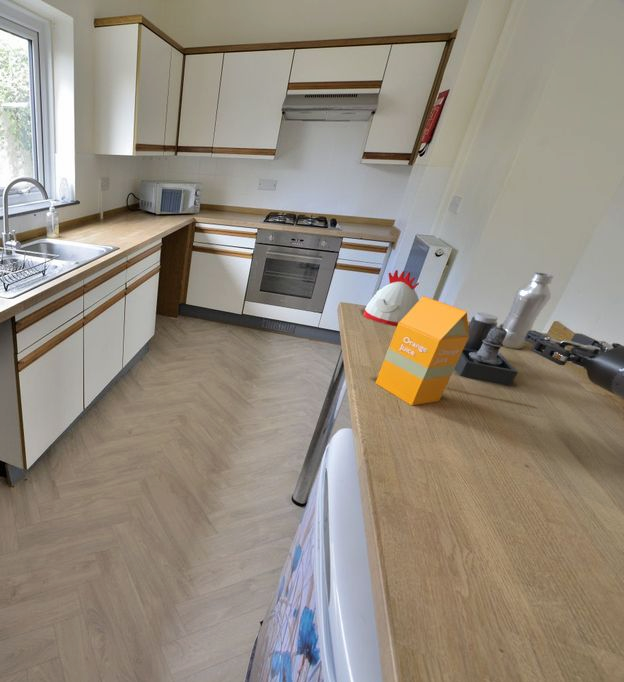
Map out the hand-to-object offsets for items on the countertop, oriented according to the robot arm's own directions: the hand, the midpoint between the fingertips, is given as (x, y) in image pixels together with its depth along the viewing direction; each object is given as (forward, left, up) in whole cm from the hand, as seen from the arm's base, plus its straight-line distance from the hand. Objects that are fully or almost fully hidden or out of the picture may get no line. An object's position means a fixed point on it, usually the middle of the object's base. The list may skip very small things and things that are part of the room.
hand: (551, 336), depth 79 cm
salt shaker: (+4, -10, -14) cm, 18 cm away
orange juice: (+21, +8, -15) cm, 27 cm away
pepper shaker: (+4, -19, -14) cm, 24 cm away
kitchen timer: (+18, -40, -15) cm, 47 cm away
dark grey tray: (+4, -14, -15) cm, 21 cm away
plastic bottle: (-9, -34, -15) cm, 39 cm away
